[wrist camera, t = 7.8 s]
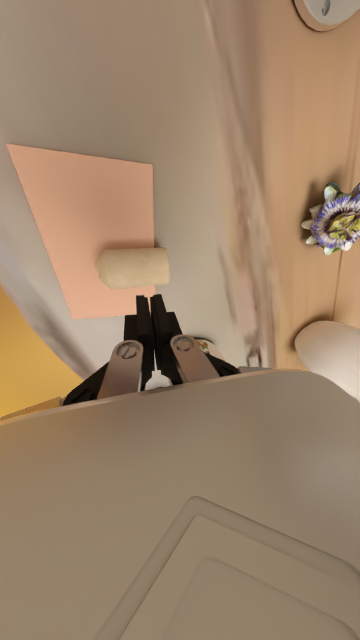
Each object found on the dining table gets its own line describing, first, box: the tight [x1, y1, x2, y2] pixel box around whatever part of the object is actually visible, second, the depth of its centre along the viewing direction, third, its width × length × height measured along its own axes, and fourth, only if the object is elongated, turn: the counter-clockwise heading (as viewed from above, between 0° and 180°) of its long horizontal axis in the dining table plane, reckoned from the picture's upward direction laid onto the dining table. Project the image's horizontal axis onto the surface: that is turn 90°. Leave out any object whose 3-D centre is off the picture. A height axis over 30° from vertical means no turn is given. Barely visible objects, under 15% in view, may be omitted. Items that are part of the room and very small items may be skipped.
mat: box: [6, 144, 156, 319], centre depth 25 cm, size 22×15×1 cm
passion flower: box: [301, 182, 360, 255], centre depth 28 cm, size 11×11×12 cm
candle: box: [94, 248, 169, 290], centre depth 24 cm, size 6×6×10 cm
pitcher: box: [295, 321, 360, 403], centre depth 45 cm, size 24×17×28 cm
